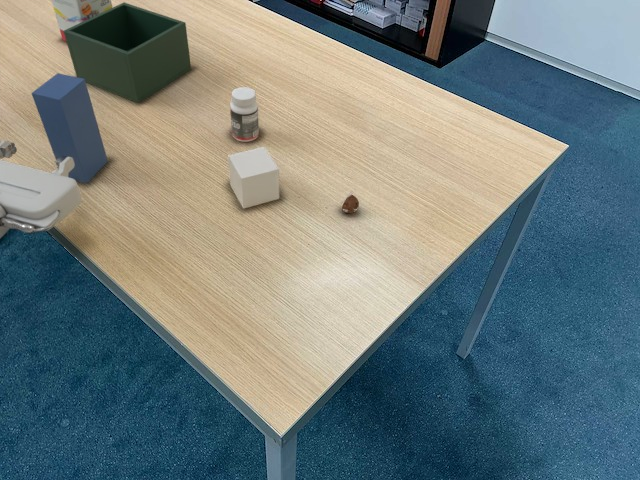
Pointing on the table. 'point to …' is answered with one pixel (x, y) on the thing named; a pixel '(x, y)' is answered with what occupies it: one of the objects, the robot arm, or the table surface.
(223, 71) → the table surface
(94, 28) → the waste bin
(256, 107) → the pill bottle
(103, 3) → the ink box
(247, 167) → the white cube
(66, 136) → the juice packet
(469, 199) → the table surface
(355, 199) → the chocolate
